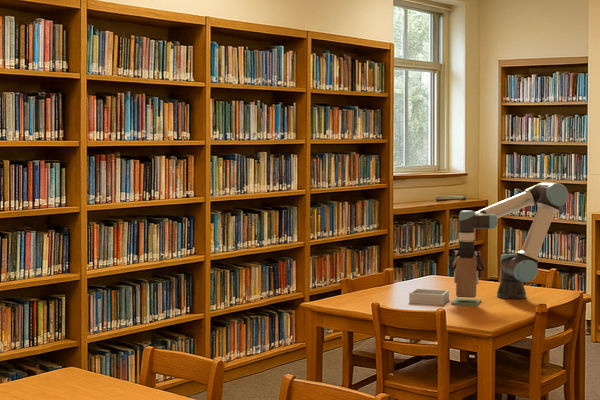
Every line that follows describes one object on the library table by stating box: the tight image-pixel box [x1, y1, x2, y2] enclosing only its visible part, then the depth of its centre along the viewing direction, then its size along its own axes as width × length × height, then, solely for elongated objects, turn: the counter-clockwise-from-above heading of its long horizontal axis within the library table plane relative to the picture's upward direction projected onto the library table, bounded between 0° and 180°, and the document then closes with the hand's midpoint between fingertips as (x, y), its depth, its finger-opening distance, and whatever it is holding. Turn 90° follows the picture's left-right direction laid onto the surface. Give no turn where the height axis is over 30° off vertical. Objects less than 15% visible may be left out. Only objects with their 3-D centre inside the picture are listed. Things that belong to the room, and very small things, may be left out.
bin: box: [408, 288, 450, 306], centre depth 432 cm, size 18×15×5 cm
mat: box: [450, 297, 482, 307], centre depth 426 cm, size 13×13×1 cm
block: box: [455, 255, 477, 299], centre depth 425 cm, size 10×10×20 cm
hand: (466, 283), depth 425 cm, fingers closed on block, 11 cm apart
